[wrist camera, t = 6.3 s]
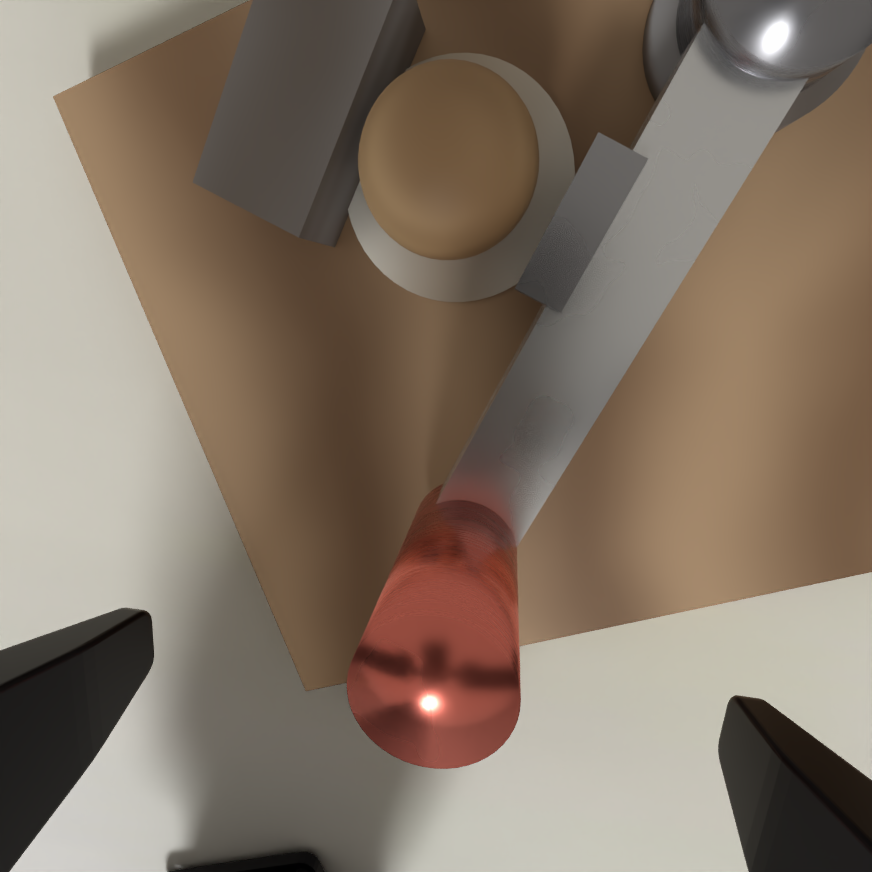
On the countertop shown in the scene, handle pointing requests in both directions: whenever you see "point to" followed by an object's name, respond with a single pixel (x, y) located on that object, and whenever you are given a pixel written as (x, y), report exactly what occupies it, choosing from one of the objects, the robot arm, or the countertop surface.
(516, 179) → the walnut
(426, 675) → the lever
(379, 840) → the countertop surface
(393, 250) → the cracker base
